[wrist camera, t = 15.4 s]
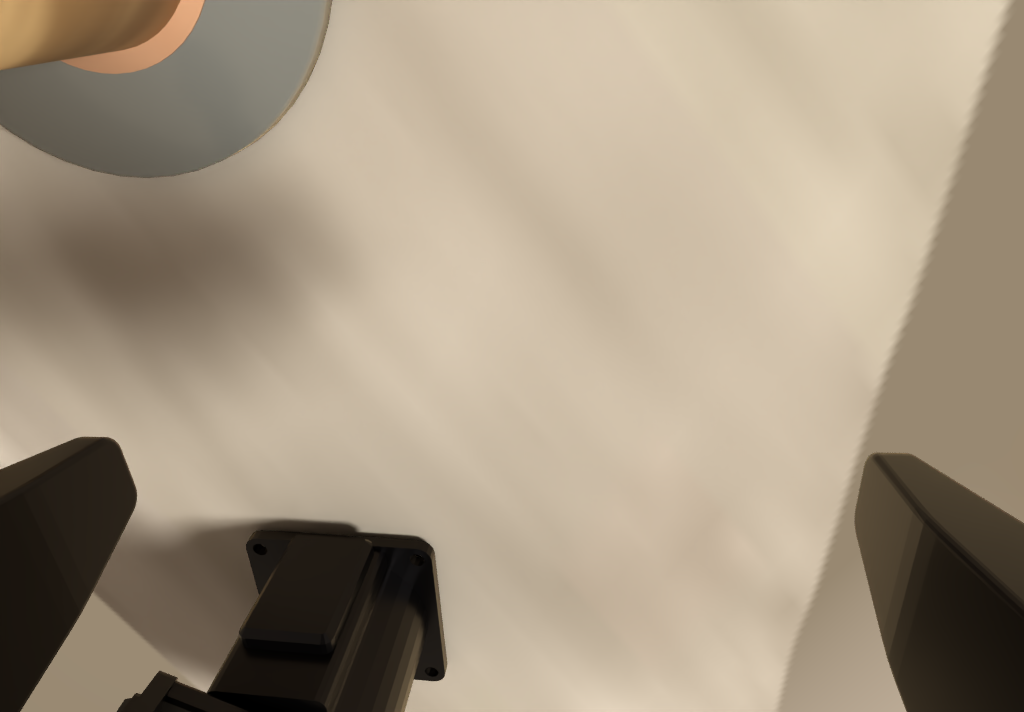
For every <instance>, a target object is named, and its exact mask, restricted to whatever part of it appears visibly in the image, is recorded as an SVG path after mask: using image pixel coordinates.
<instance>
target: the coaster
mask: <svg viewBox="0 0 1024 712" xmlns="http://www.w3.org/2000/svg"><path fill="white" fill-rule="evenodd" d="M331 5H332V0H180V3H179V5H178V7H177V9H176V11H175V13H174V15H173V16H172V18H171V19H170V20H169V22H168V23H167V25H166V26H165V27H164V28H163V29H162V30H161V31H160V32H159V33H158V34H157V35H155V36H154V37H153V38H151V39H150V40H148V41H147V42H145V43H143V44H141V45H138V46H136V47H133V48H129V49H126V50H121V51H115V52H108V53H102V54H96V55H90V56H84V57H78V58H72V59H66V60H60V61H54V62H47V63H41V64H35V65H29V66H23V67H17V68H11V69H5V70H0V124H1V125H2V126H3V127H5V128H6V129H8V130H9V131H10V132H12V133H13V134H15V135H16V136H18V137H20V138H21V139H23V140H25V141H27V142H28V143H30V144H32V145H33V146H35V147H37V148H38V149H40V150H42V151H45V152H47V153H49V154H51V155H53V156H55V157H58V158H60V159H62V160H64V161H66V162H69V163H72V164H75V165H78V166H81V167H84V168H87V169H90V170H93V171H98V172H103V173H108V174H113V175H118V176H126V177H141V178H153V177H167V176H176V175H180V174H184V173H189V172H193V171H197V170H200V169H203V168H205V167H208V166H210V165H212V164H215V163H217V162H220V161H222V160H224V159H226V158H228V157H230V156H232V155H235V154H237V153H238V152H240V151H241V150H243V149H245V148H246V147H248V146H250V145H251V144H253V143H255V142H256V141H258V140H259V139H260V138H261V137H262V136H264V135H265V134H266V133H267V132H268V131H269V130H271V129H272V128H273V127H274V126H275V125H276V124H277V123H278V122H279V121H280V120H281V119H282V117H283V116H284V115H285V114H286V113H287V112H288V110H289V109H290V108H291V107H292V106H293V105H294V103H295V101H296V100H297V98H298V97H299V95H300V93H301V92H302V90H303V89H304V87H305V85H306V84H307V82H308V80H309V78H310V76H311V73H312V71H313V69H314V67H315V64H316V62H317V60H318V57H319V55H320V52H321V49H322V45H323V42H324V38H325V35H326V31H327V28H328V24H329V18H330V12H331Z"/></svg>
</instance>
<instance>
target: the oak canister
mask: <svg viewBox="0 0 1024 712" xmlns="http://www.w3.org/2000/svg"><path fill="white" fill-rule="evenodd" d="M179 3H180V0H0V70H5V69H11V68H17V67H23V66H29V65H35V64H41V63H47V62H54V61H60V60H66V59H72V58H78V57H84V56H90V55H96V54H102V53H108V52H115V51H121V50H126V49H129V48H133V47H136V46H138V45H141V44H143V43H145V42H147V41H148V40H150V39H151V38H153V37H154V36H155V35H157V34H158V33H159V32H160V31H161V30H162V29H163V28H164V27H165V26H166V25H167V23H168V22H169V20H170V19H171V18H172V16H173V15H174V13H175V11H176V9H177V7H178V5H179Z"/></svg>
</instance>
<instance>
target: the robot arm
mask: <svg viewBox="0 0 1024 712" xmlns="http://www.w3.org/2000/svg"><path fill="white" fill-rule="evenodd" d="M136 501H137V490H136V486H135V484H134V481H133V478H132V476H131V473H130V471H129V468H128V465H127V463H126V460H125V458H124V455H123V452H122V450H121V448H120V446H119V444H118V443H117V442H116V441H115V440H114V439H111V438H109V437H79V438H76V439H73V440H71V441H68V442H66V443H63V444H61V445H58V446H56V447H54V448H51V449H49V450H46V451H44V452H42V453H39V454H37V455H34V456H32V457H29V458H27V459H25V460H22V461H20V462H17V463H15V464H13V465H10V466H8V467H5V468H3V469H0V712H20V711H21V709H22V707H23V706H24V705H25V703H26V701H27V700H28V698H29V697H30V695H31V693H32V691H33V690H34V689H35V687H36V685H37V684H38V682H39V681H40V679H41V678H42V676H43V674H44V673H45V671H46V670H47V668H48V666H49V665H50V663H51V661H52V660H53V658H54V657H55V655H56V654H57V652H58V650H59V649H60V647H61V646H62V644H63V642H64V641H65V639H66V638H67V636H68V635H69V633H70V631H71V630H72V628H73V626H74V624H75V623H76V621H77V619H78V618H79V616H80V615H81V613H82V611H83V609H84V607H85V605H86V603H87V601H88V600H89V598H90V596H91V594H92V592H93V590H94V588H95V586H96V584H97V582H98V580H99V578H100V576H101V574H102V572H103V570H104V568H105V566H106V564H107V562H108V560H109V558H110V556H111V554H112V552H113V550H114V548H115V546H116V544H117V542H118V540H119V539H120V537H121V535H122V533H123V531H124V529H125V527H126V525H127V523H128V521H129V519H130V517H131V515H132V513H133V511H134V508H135V505H136ZM855 530H856V535H857V540H858V544H859V548H860V552H861V556H862V560H863V564H864V568H865V572H866V576H867V580H868V584H869V588H870V592H871V596H872V600H873V605H874V608H875V612H876V617H877V621H878V625H879V628H880V633H881V636H882V641H883V644H884V647H885V651H886V655H887V659H888V662H889V665H890V668H891V671H892V674H893V677H894V679H895V682H896V685H897V688H898V690H899V693H900V696H901V698H902V701H903V704H904V706H905V709H906V711H907V712H1024V523H1023V522H1021V521H1019V520H1018V519H1016V518H1014V517H1013V516H1011V515H1010V514H1008V513H1006V512H1005V511H1003V510H1002V509H1000V508H998V507H997V506H995V505H994V504H992V503H990V502H989V501H987V500H985V499H984V498H982V497H980V496H979V495H977V494H976V493H974V492H972V491H970V490H969V489H968V488H966V487H964V486H963V485H961V484H960V483H958V482H956V481H955V480H953V479H951V478H950V477H948V476H947V475H945V474H943V473H942V472H940V471H939V470H937V469H935V468H934V467H932V466H930V465H929V464H927V463H926V462H924V461H922V460H921V459H919V458H917V457H916V456H914V455H912V454H909V453H873V454H871V455H870V456H868V458H867V460H866V462H865V465H864V469H863V474H862V479H861V485H860V489H859V494H858V499H857V504H856V509H855ZM262 545H263V546H262ZM264 546H265V547H264ZM246 549H247V553H248V557H249V560H250V564H251V567H252V571H253V575H254V578H255V582H256V585H257V589H258V593H259V597H258V598H257V600H256V602H255V604H254V605H253V607H252V609H251V611H250V612H249V614H248V616H247V618H246V619H245V621H244V623H243V625H242V627H241V628H240V631H239V637H238V638H237V640H236V642H235V644H234V645H233V647H232V649H231V651H230V653H229V654H228V656H227V658H226V660H225V661H224V663H223V665H222V667H221V668H220V670H219V672H218V674H217V676H216V677H215V679H214V681H213V683H212V684H211V686H210V688H209V690H208V691H207V693H205V692H203V691H200V690H198V689H195V688H193V687H190V686H188V685H185V684H182V683H180V682H177V680H178V678H177V677H175V676H172V675H170V674H167V673H164V672H162V671H159V672H158V673H157V674H156V676H155V677H154V678H153V680H152V681H151V682H150V684H149V685H148V686H147V688H146V689H145V690H144V691H143V693H142V694H138V693H136V694H135V695H134V696H133V697H132V698H129V699H125V700H124V702H123V703H122V705H121V706H120V707H119V709H118V711H117V712H404V711H405V708H406V704H407V701H408V697H409V694H410V690H411V687H412V683H413V680H414V679H415V680H426V681H439V680H441V679H443V678H444V676H445V672H446V668H447V657H446V649H445V640H444V631H443V622H442V613H441V604H440V596H439V587H438V578H437V569H436V560H435V552H434V550H433V548H432V547H431V546H430V544H428V543H426V542H424V541H419V540H405V539H389V538H374V537H358V536H343V535H327V534H312V533H296V532H281V531H265V530H260V531H256V532H254V533H253V534H252V536H251V537H250V539H249V541H248V542H247V544H246ZM415 554H417V555H420V556H422V557H417V556H416V555H415Z"/></svg>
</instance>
